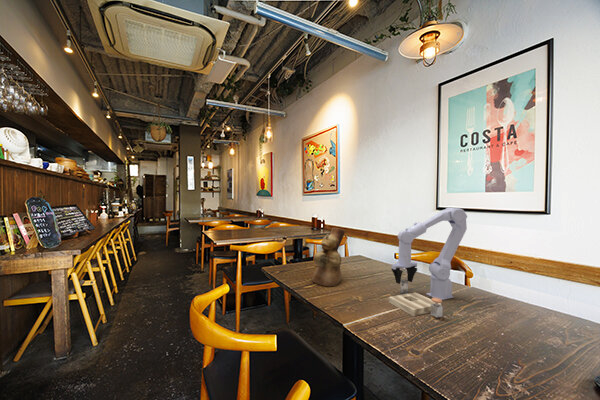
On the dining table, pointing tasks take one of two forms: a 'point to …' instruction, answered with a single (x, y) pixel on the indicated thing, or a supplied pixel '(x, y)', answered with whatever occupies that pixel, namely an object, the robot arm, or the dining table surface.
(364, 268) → the dining table surface
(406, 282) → the steel pin
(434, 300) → the cap
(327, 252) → the ceramic vessel
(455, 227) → the robot arm
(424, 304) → the block
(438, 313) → the plunger housing
